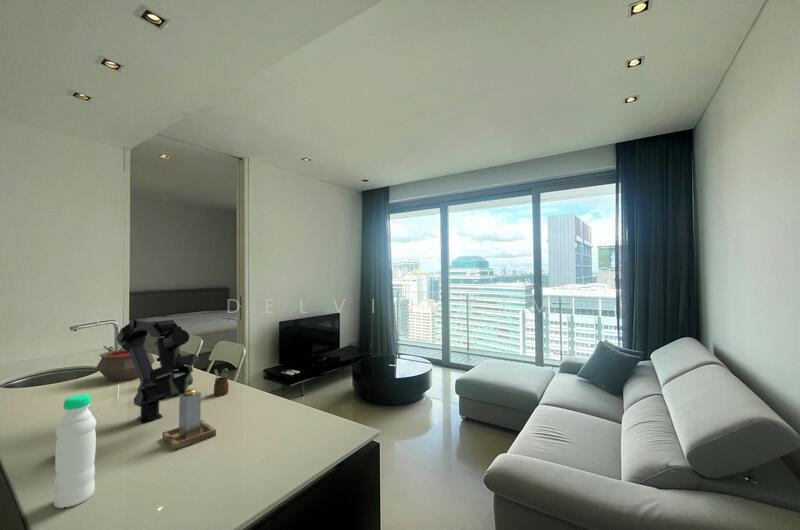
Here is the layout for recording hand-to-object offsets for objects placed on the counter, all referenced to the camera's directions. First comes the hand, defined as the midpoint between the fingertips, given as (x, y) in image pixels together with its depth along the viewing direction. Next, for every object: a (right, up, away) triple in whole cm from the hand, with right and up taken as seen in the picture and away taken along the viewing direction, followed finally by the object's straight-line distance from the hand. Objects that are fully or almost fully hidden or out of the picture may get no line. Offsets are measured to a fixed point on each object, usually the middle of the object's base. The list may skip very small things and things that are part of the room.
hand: (176, 395), depth 115 cm
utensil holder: (-3, -13, +34) cm, 36 cm away
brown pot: (-66, -14, +57) cm, 88 cm away
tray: (+8, -12, -5) cm, 15 cm away
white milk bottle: (0, -11, -36) cm, 37 cm away
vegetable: (-25, -13, +35) cm, 45 cm away
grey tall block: (+8, -11, -5) cm, 15 cm away
